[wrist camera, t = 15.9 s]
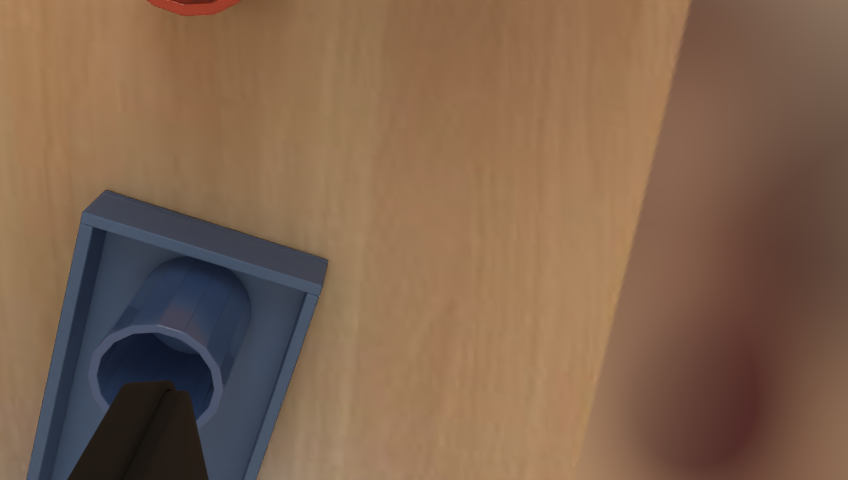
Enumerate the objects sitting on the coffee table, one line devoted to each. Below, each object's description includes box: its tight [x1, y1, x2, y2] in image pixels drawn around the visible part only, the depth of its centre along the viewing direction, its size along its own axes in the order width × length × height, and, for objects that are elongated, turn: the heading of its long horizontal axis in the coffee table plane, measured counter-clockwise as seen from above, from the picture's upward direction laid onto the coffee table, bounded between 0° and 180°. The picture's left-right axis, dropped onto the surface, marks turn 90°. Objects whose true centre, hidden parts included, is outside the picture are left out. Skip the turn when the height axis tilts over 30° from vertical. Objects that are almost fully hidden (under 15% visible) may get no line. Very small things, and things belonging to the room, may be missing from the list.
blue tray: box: [26, 190, 328, 480], centre depth 41 cm, size 22×11×3 cm, turn 160°
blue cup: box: [88, 257, 251, 428], centre depth 37 cm, size 6×6×7 cm
